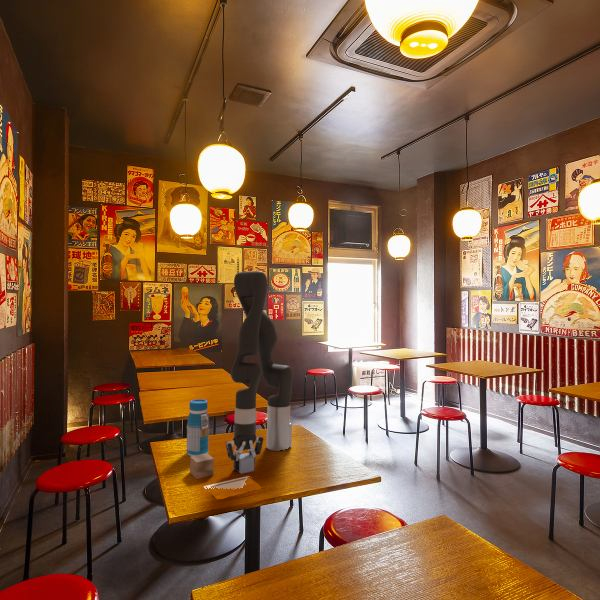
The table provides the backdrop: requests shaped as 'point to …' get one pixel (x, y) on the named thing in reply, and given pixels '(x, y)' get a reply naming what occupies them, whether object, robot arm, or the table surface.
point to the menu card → (229, 484)
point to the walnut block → (201, 465)
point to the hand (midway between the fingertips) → (244, 468)
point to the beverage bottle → (197, 428)
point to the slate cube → (246, 463)
